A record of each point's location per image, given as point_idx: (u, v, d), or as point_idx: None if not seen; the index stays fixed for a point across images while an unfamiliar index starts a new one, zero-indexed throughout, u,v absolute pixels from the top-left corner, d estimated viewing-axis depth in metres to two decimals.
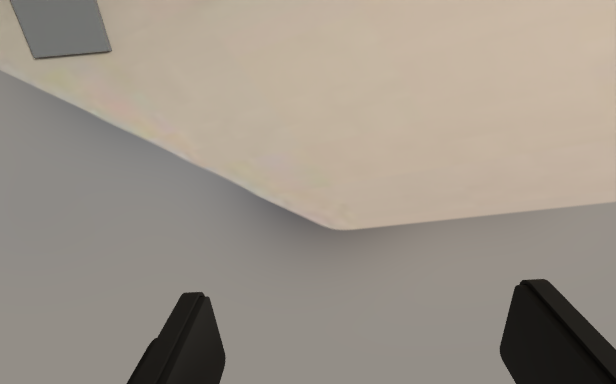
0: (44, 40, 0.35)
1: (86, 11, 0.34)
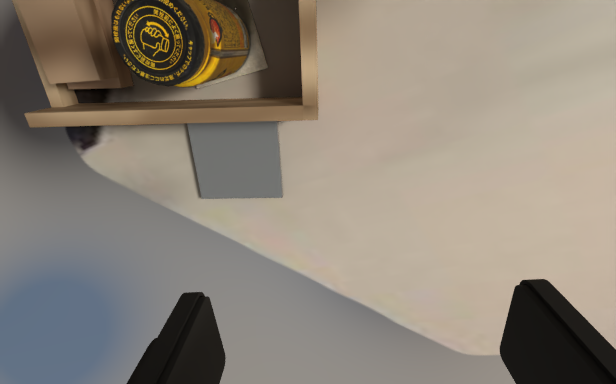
0: (217, 184, 0.34)
1: (269, 163, 0.33)
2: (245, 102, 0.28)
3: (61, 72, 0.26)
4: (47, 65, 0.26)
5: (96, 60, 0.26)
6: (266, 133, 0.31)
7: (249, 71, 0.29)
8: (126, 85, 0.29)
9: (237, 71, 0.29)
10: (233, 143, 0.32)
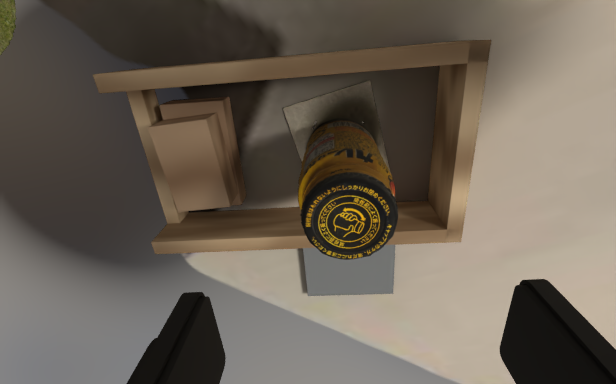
0: (325, 283, 0.33)
1: (383, 263, 0.31)
2: None
3: (191, 201, 0.25)
4: (177, 196, 0.25)
5: (227, 187, 0.25)
6: None
7: None
8: (243, 199, 0.28)
9: None
10: None
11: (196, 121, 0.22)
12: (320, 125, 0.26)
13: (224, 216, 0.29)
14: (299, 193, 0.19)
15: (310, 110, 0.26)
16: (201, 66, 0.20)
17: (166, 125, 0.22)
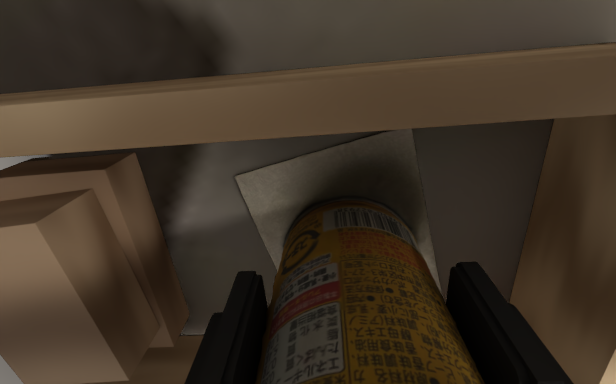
0: None
1: None
2: None
3: (47, 371, 0.12)
4: (17, 362, 0.12)
5: (119, 343, 0.12)
6: None
7: None
8: (181, 329, 0.16)
9: None
10: None
11: (14, 227, 0.09)
12: (309, 207, 0.13)
13: None
14: None
15: (289, 181, 0.13)
16: None
17: None
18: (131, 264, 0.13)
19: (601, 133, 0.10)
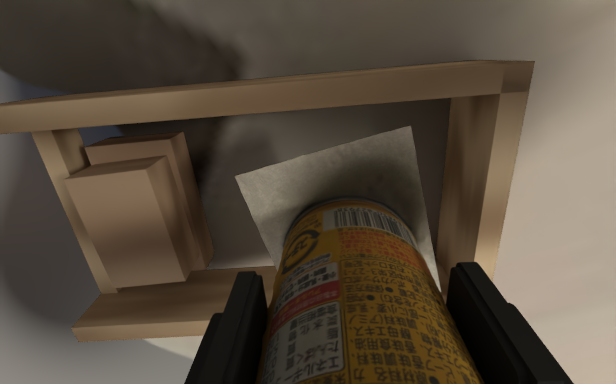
0: None
1: None
2: None
3: (131, 275, 0.18)
4: (111, 268, 0.18)
5: (180, 255, 0.18)
6: None
7: None
8: (209, 260, 0.22)
9: None
10: None
11: (132, 172, 0.16)
12: (309, 207, 0.14)
13: None
14: None
15: (289, 180, 0.13)
16: (119, 98, 0.14)
17: (89, 177, 0.16)
18: None
19: (466, 113, 0.17)
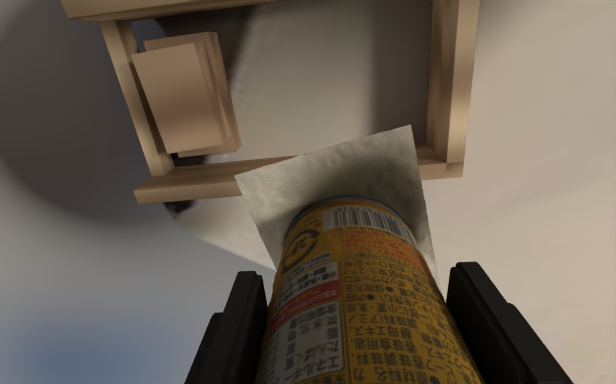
0: None
1: None
2: None
3: (181, 140, 0.23)
4: (166, 134, 0.23)
5: (218, 123, 0.23)
6: None
7: None
8: (238, 146, 0.27)
9: None
10: None
11: (183, 45, 0.21)
12: (309, 206, 0.13)
13: (211, 167, 0.28)
14: None
15: (289, 180, 0.13)
16: None
17: (150, 51, 0.21)
18: None
19: None
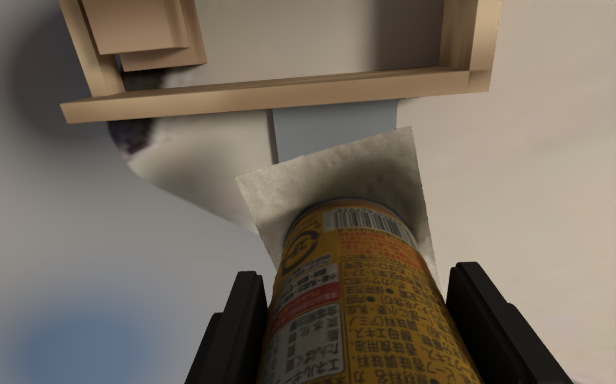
0: None
1: None
2: (366, 74, 0.20)
3: (118, 36, 0.18)
4: (98, 26, 0.17)
5: (169, 17, 0.18)
6: (381, 120, 0.23)
7: None
8: (201, 61, 0.21)
9: None
10: (334, 135, 0.23)
11: None
12: (309, 207, 0.13)
13: (169, 89, 0.22)
14: None
15: (289, 181, 0.13)
16: None
17: None
18: None
19: None
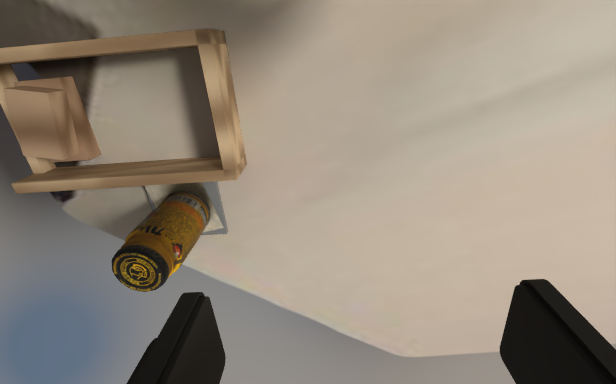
0: None
1: None
2: (183, 165, 0.36)
3: (33, 150, 0.33)
4: (23, 143, 0.33)
5: (63, 145, 0.33)
6: (207, 185, 0.39)
7: (211, 229, 0.41)
8: (95, 156, 0.37)
9: None
10: None
11: (39, 92, 0.31)
12: (170, 195, 0.39)
13: (79, 168, 0.38)
14: None
15: (161, 186, 0.39)
16: (18, 47, 0.29)
17: (17, 90, 0.31)
18: None
19: None
